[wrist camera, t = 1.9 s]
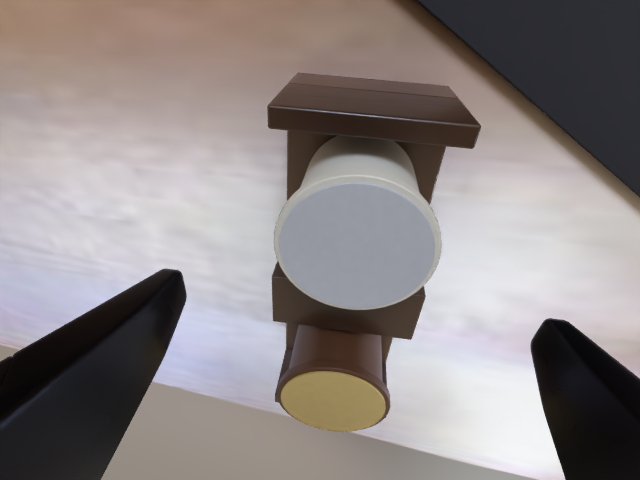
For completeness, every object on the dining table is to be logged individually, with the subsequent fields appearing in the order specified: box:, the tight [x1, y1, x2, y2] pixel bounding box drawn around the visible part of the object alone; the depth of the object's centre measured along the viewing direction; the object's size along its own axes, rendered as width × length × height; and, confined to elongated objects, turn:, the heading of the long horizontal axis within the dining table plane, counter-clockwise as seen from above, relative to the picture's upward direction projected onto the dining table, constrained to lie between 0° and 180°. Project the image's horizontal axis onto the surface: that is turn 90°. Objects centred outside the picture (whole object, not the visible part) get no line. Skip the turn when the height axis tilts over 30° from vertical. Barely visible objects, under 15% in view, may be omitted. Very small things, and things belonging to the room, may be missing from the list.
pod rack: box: [267, 73, 481, 418], centre depth 16 cm, size 6×16×5 cm, turn 176°
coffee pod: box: [274, 135, 442, 310], centre depth 12 cm, size 5×5×5 cm
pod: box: [277, 325, 390, 432], centre depth 17 cm, size 5×5×5 cm
